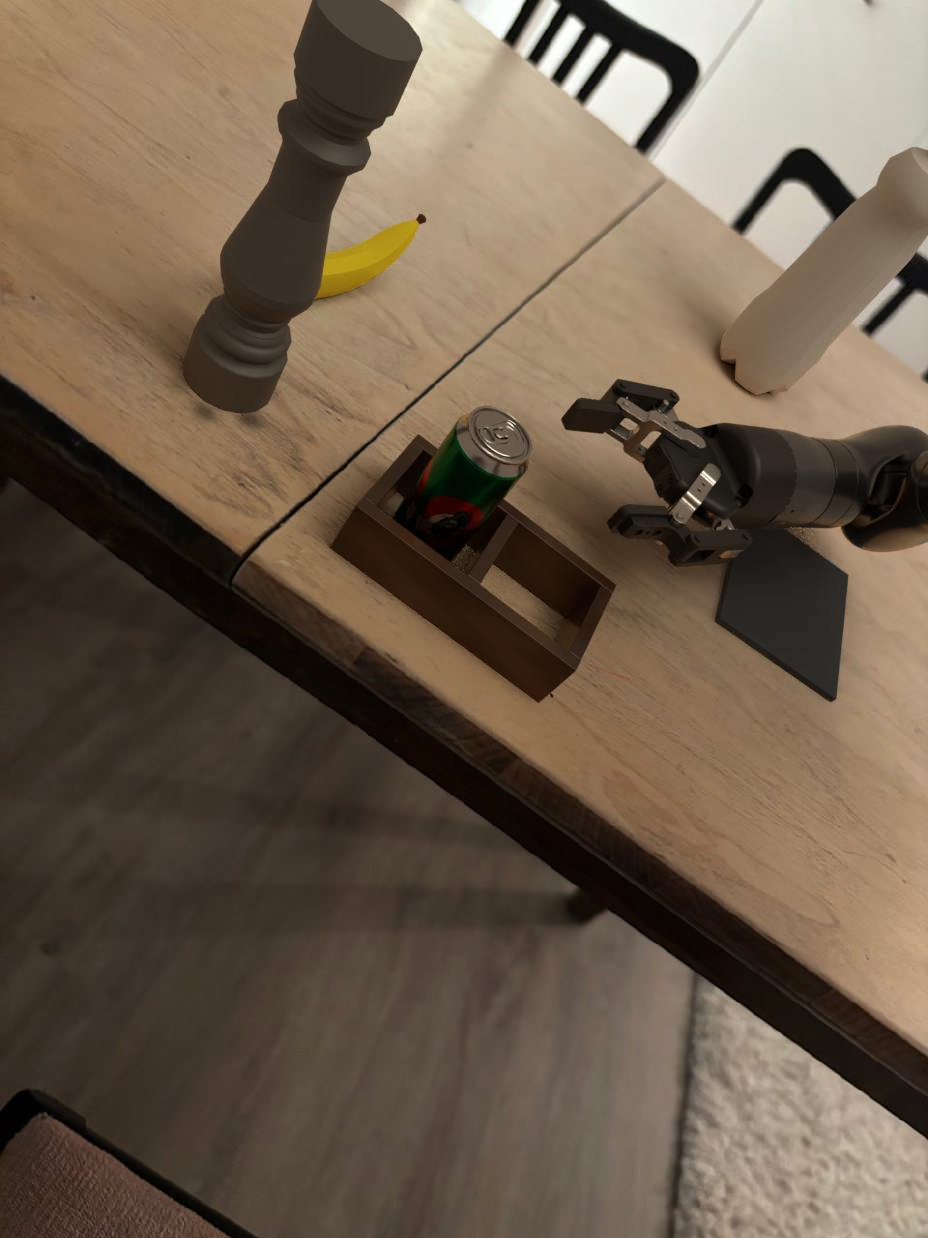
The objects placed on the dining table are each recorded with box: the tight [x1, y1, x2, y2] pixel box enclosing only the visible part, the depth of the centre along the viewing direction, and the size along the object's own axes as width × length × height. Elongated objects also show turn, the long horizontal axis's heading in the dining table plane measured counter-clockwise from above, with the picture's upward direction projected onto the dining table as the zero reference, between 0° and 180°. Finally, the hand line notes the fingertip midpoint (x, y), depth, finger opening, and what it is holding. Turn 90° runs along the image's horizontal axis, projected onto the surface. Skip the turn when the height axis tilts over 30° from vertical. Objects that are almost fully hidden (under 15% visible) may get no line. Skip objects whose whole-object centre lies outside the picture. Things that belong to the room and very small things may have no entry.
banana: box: [315, 213, 427, 299], centre depth 71 cm, size 3×19×6 cm, turn 134°
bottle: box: [719, 146, 928, 396], centre depth 89 cm, size 9×9×30 cm
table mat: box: [715, 528, 850, 703], centre depth 81 cm, size 16×12×1 cm
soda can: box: [390, 405, 533, 564], centre depth 60 cm, size 5×5×12 cm
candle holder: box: [182, 0, 424, 414], centre depth 55 cm, size 6×6×25 cm
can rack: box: [329, 433, 617, 703], centre depth 63 cm, size 17×9×4 cm, turn 64°
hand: (591, 465), depth 62 cm, fingers open, 8 cm apart
